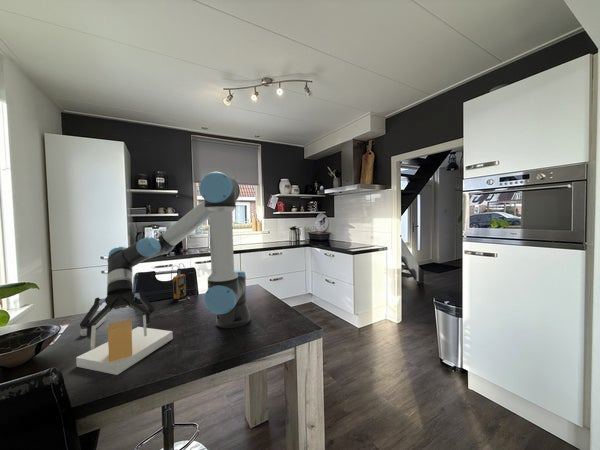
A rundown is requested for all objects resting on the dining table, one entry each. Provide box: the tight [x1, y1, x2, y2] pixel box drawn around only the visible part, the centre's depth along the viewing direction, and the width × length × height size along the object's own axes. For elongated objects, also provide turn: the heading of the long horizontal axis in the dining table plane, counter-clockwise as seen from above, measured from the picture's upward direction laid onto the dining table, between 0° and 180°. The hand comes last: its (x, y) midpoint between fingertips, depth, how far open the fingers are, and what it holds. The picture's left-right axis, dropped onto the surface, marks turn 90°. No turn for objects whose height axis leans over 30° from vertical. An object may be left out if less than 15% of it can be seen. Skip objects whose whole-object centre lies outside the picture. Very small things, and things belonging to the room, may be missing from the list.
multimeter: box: [170, 263, 192, 303], centre depth 142 cm, size 15×10×20 cm
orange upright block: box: [107, 318, 133, 362], centre depth 79 cm, size 6×6×10 cm
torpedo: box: [79, 308, 108, 337], centre depth 105 cm, size 18×5×6 cm, turn 18°
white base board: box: [75, 326, 174, 376], centre depth 86 cm, size 17×22×9 cm
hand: (120, 341), depth 77 cm, fingers open, 13 cm apart
